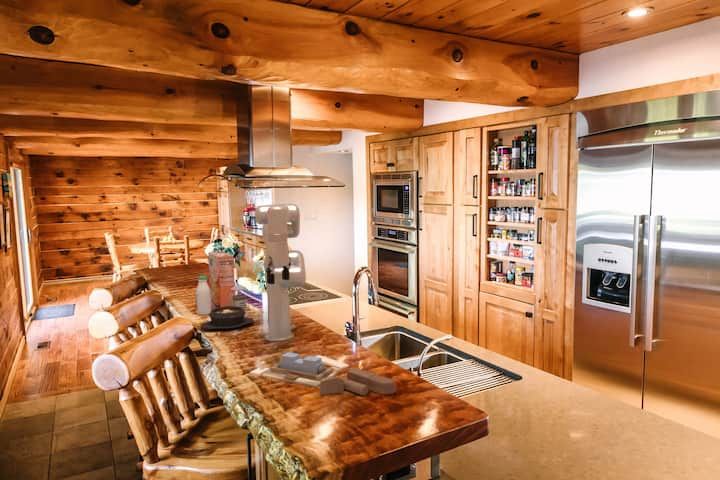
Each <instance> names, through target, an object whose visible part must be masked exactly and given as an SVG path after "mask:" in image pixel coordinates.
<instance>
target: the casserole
mask: <svg viewBox="0 0 720 480" xmlns="http://www.w3.org/2000/svg"><path fill="white" fill-rule="evenodd" d="M245 314H246V312H245V311H244V309H243V308H242V307H237V306H225V307H218V308H213V309H212V308H211V312H210V314H208V317H209V318H210V321H206V322H202V323H200V328H202V329H205V330H221V331H222V330H226V331H227V330H234V329H237V328H240V327H242V326H245V325H250V324H252V323H254V322H255V320H254V319H253V318H252V317H249V316H244V315H245Z"/></svg>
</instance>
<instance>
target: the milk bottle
mask: <svg viewBox="0 0 720 480" xmlns="http://www.w3.org/2000/svg"><path fill="white" fill-rule="evenodd" d="M197 281H198V284H197V286H196V289H195V314H196V315H197V316H206V315H208V316H209V314H210V312H211V310H212V306H211V292H210V285H209V284H208V276H207V275H200V276H197Z"/></svg>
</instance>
